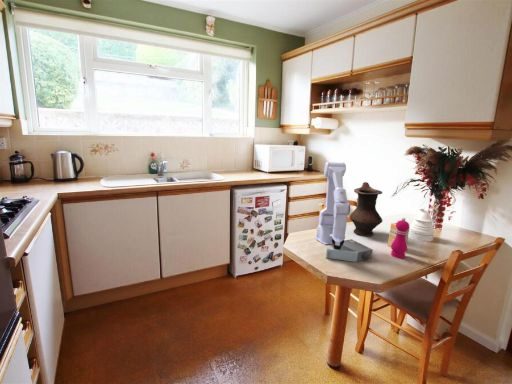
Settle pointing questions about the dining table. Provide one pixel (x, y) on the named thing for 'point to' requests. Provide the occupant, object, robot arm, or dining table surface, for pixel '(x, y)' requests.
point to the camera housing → (357, 249)
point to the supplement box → (394, 234)
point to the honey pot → (422, 227)
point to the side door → (341, 254)
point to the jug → (366, 210)
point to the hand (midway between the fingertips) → (336, 253)
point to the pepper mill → (400, 239)
